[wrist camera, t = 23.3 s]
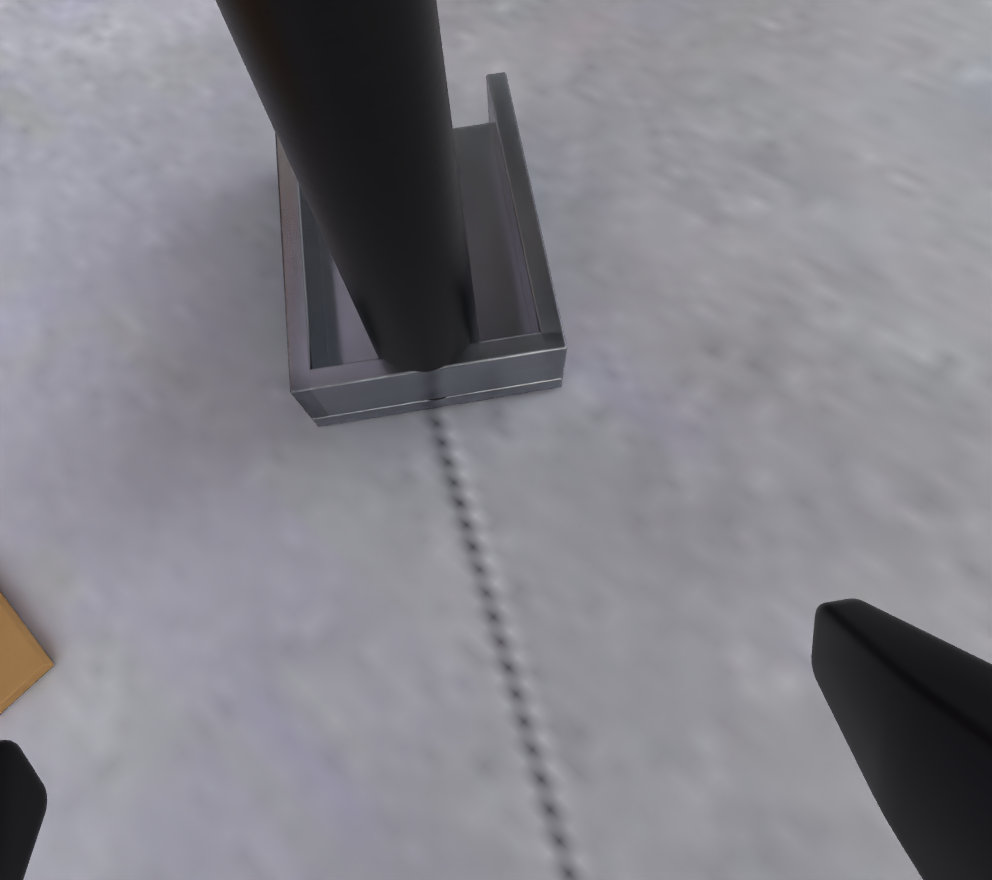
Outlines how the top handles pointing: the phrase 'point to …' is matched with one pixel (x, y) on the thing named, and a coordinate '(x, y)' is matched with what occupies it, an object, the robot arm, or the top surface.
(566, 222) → the top surface
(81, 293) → the top surface
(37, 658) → the mat
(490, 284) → the black cylinder on tray
